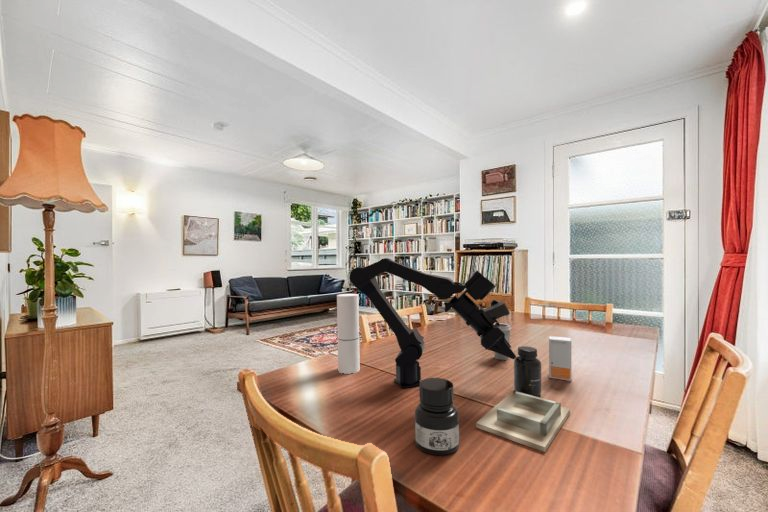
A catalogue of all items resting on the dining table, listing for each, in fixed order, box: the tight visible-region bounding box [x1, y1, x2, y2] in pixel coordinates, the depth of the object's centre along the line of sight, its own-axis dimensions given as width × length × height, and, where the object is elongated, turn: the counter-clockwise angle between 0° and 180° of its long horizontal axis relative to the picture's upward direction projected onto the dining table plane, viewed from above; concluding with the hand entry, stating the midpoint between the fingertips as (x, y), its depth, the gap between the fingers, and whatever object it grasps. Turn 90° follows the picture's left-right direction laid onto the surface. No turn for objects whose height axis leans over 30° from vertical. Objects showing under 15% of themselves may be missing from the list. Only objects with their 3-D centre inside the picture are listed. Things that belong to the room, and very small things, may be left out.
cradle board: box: [475, 391, 571, 453], centre depth 74 cm, size 14×20×4 cm
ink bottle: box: [414, 377, 460, 456], centre depth 66 cm, size 10×9×12 cm
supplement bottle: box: [513, 345, 542, 397], centre depth 89 cm, size 7×7×12 cm
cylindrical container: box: [336, 293, 361, 375], centre depth 108 cm, size 7×7×25 cm
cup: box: [493, 322, 512, 361], centre depth 118 cm, size 7×7×12 cm
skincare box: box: [548, 335, 572, 382], centre depth 99 cm, size 6×4×12 cm
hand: (512, 352), depth 90 cm, fingers open, 9 cm apart
